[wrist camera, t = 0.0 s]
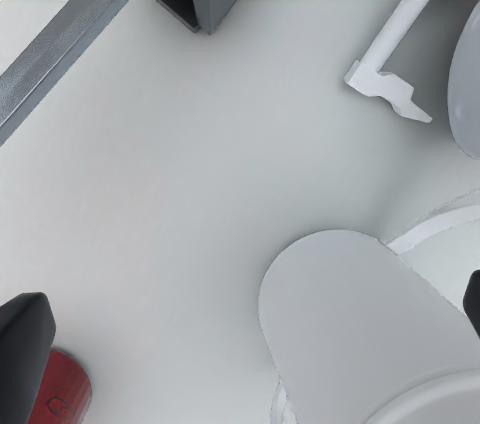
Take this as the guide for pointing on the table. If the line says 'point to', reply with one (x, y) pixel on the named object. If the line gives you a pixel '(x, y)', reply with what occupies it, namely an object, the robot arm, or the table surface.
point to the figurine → (367, 69)
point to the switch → (50, 58)
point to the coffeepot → (369, 330)
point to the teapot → (466, 88)
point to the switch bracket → (198, 12)
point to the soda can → (61, 392)
